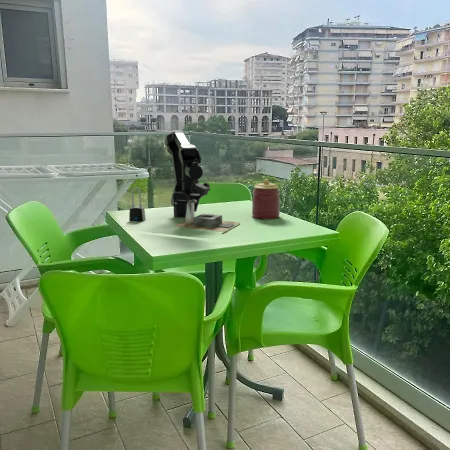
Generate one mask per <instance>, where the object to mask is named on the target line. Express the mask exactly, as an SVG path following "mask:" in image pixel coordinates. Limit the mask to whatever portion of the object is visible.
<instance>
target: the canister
mask: <svg viewBox="0 0 450 450" xmlns="http://www.w3.org/2000/svg"><path fill="white" fill-rule="evenodd" d="M253 188H254V189H253V190H252V191H251V193H252V198H251V200H252V201H251V202H252V205H251V207H252V209H251V215H252V218H255V219H259V220H273V219H278V218H279V217H280V214H281V212H280V204H281V203H280V200H281V198H280V194H281V191H280V190H279V186H278V185H277V184H276V183H271V182H270V180H269V179H264V180H263V182H262V183H261V182H260V183H259V182H258V183H257V184H255V185H254V186H253Z"/></svg>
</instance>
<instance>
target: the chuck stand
mask: <svg viewBox="0 0 450 450" xmlns="http://www.w3.org/2000/svg"><path fill="white" fill-rule="evenodd" d="M238 226H241V222H240V221H228V220H223V215H222V214H214V213H213V214H212V213H201V214H199V215H196V216H195V217H194V223H192V224H189V223H186V220H185V221H182V222H180V223H178V224H175V225H173V226H172V227H174V228H181V229H193V230H202V231H211V232H212V231H214V232H222V233H221V234H222V235H224V234H226V233H228V232H229V231H232V230H233V229H235V228H237V227H238Z"/></svg>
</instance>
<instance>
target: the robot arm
mask: <svg viewBox="0 0 450 450" xmlns="http://www.w3.org/2000/svg"><path fill="white" fill-rule="evenodd" d="M164 145H165V147H166V148H165V149H166V151H167V153H168V154H169V155H170V156H171V163H172V164H171V166H172V170H173V177H174V184H175V185H174V187H173V190H172V193H171V198H170V205H171V206H172V207H173V217H175V218H186V213H187V203H188V202H189V201H190V200H197V202H196V203H194V213H196V212H197V211H198V206H199V203H200V201H201V199H202V198H203V197H204V196H208V193H209V192H210V191H211V188H210V187H211V186H210V183H208V182H203V183H201V182H200V183H199V180H200V179H201V178H202V176H203V173H204V172H203V169H202V167H201V166H200V165H199V164H202V158H201V154H200V151H199V149H198V148H197V146H195V145H194V144H191V143H190V142H189V140H188V138H187V137H186V136H185V132H184V131H183V130H173V131H171V133H169V134H168V135H166V136H165V138H164ZM188 199H189V200H188Z"/></svg>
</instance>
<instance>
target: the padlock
mask: <svg viewBox="0 0 450 450" xmlns="http://www.w3.org/2000/svg"><path fill="white" fill-rule="evenodd" d="M135 190H137V191H138V201H139V205H136V206H135V205H134V204H135V201H134V191H135ZM145 212H146V211H145V207H144V206H142V195H141V190H140V189H139V187H133V188H132V190H131V207H129V211H128V214H129V216H128V222H145V221H146V219H147V218H146V213H145Z"/></svg>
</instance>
